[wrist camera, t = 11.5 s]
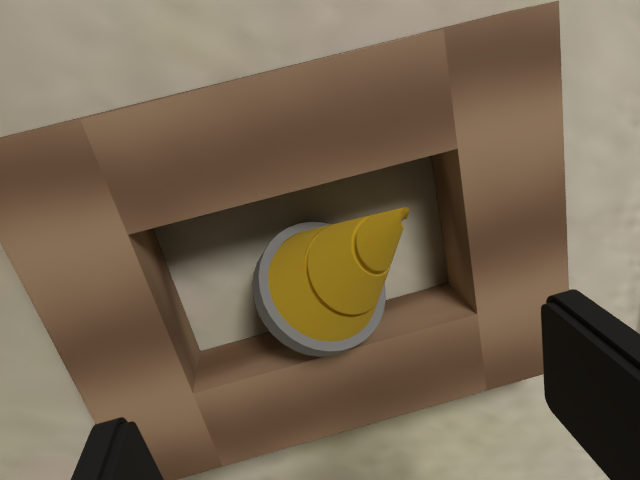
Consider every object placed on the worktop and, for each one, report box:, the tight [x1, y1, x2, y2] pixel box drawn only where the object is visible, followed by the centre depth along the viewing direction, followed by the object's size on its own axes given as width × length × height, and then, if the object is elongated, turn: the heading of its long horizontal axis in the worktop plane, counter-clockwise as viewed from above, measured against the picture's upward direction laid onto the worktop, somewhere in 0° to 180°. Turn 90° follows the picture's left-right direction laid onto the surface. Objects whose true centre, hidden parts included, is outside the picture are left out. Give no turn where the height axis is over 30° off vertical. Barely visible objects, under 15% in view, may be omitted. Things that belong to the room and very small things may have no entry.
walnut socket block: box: [0, 1, 569, 480], centre depth 19 cm, size 15×20×3 cm
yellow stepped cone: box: [252, 207, 409, 357], centre depth 17 cm, size 5×5×10 cm
